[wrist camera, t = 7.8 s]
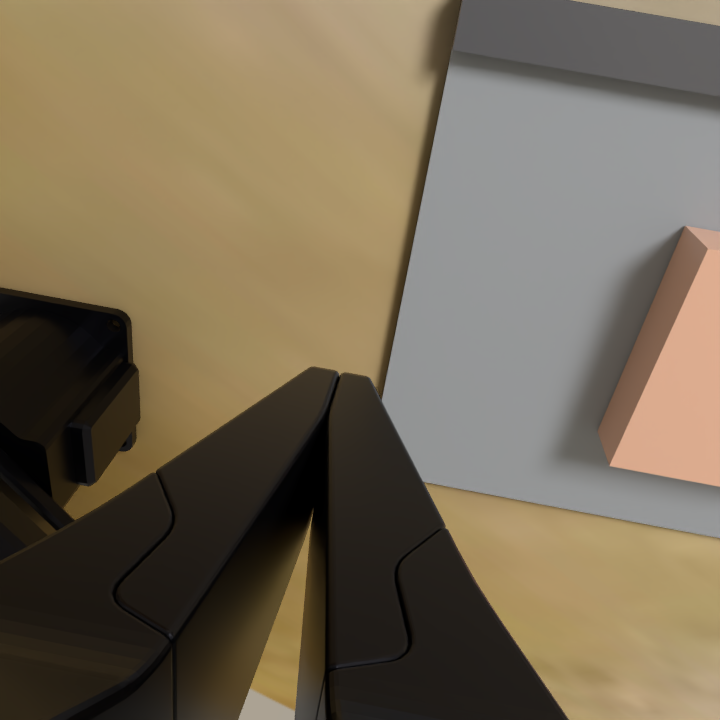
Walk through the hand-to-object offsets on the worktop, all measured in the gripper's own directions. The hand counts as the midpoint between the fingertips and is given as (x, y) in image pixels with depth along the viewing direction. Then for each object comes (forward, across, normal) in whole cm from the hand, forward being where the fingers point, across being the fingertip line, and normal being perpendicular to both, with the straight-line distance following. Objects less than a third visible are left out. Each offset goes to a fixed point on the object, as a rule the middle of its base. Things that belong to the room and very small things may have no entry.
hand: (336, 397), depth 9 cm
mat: (+13, -10, +4) cm, 17 cm away
